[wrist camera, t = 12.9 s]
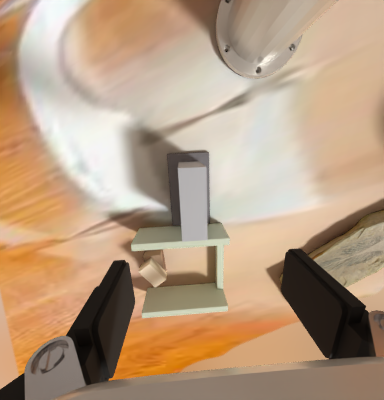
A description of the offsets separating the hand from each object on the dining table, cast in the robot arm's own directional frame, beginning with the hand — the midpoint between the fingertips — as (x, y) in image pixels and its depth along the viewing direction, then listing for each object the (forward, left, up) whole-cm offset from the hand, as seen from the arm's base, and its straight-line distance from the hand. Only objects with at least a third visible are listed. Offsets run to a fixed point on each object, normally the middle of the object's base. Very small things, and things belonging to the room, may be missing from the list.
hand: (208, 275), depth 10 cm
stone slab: (+16, +32, -23) cm, 43 cm away
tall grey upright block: (0, 0, -22) cm, 22 cm away
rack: (+15, -2, -23) cm, 27 cm away
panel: (0, 0, -23) cm, 23 cm away
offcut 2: (+14, -8, -20) cm, 26 cm away
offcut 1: (+14, -8, -23) cm, 28 cm away
